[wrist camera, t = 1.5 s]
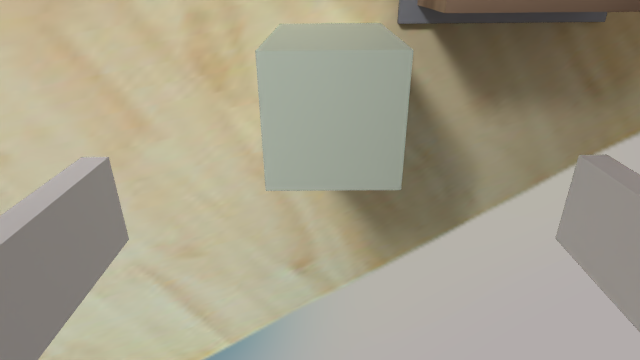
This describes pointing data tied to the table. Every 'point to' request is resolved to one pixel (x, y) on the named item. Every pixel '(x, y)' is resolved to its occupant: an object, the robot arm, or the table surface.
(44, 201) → the robot arm
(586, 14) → the slate mat
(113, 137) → the table surface
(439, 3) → the walnut block
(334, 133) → the sage block
